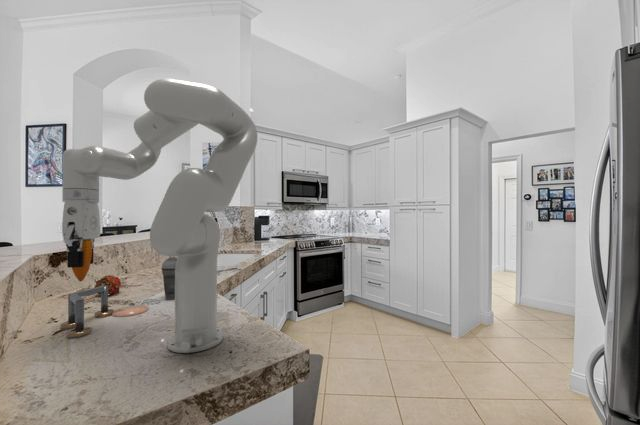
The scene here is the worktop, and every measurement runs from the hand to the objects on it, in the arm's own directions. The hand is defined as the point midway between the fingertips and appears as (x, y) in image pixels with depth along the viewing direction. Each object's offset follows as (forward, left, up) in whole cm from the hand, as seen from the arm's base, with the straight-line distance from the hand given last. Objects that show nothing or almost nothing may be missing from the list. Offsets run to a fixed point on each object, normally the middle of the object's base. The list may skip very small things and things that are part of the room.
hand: (80, 264), depth 76 cm
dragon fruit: (+45, +9, -19) cm, 50 cm away
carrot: (0, 0, -5) cm, 5 cm away
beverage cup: (+30, -17, -19) cm, 39 cm away
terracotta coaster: (+17, -7, -18) cm, 26 cm away
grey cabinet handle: (+8, +3, -18) cm, 20 cm away
